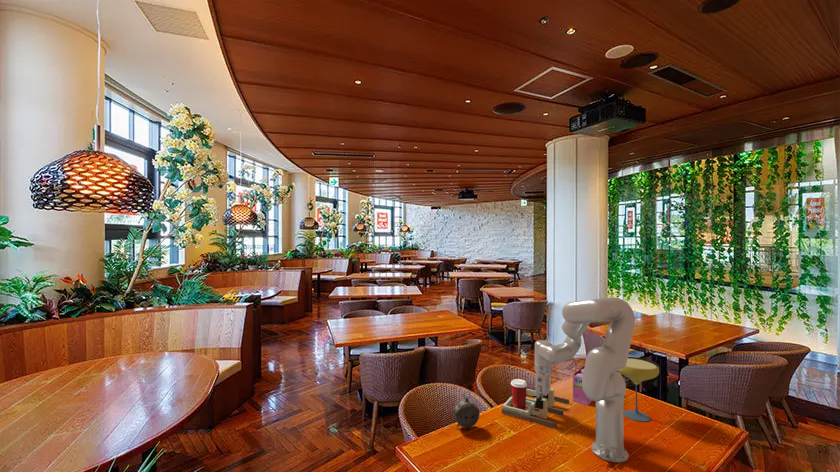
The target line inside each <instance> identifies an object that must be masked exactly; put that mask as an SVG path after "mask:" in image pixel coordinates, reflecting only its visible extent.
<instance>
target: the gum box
mask: <svg viewBox="0 0 840 472" xmlns="http://www.w3.org/2000/svg"><path fill="white" fill-rule="evenodd" d="M584 367H585V364H584V365H582V366H581V367H580V368H579V370H577V371H576V372H574V373H573V374H572V401H573V402H575V403H579V404H581V405H586V406H590V404H591V403H592V402H594V401H593V400H590V399H589V398H588V397H587V396H586V395H585V393H584V391H583V388H582V378H583V373H584Z"/></svg>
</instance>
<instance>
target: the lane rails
mask: <svg viewBox="0 0 840 472" xmlns="http://www.w3.org/2000/svg"><path fill="white" fill-rule="evenodd" d="M554 400H555V401H554V402H557V401H558V403H562V404H567V405H570V399H568V398H565V397H559V396H555V395H554ZM535 408H536V404H535ZM537 410H539V408H538V409H537ZM547 411H548V412H547V413H551V414H556V415H559V416H564V414H565V413H564V410H563V409H559V408H556V407H555V408H554V407H551V406H547ZM502 413H503V414H502ZM501 414H502V415H505V414H507V415H506V416H508V415H511V416H510V417H512V416H514V417H513V418H516V417H518V418H517V419H519V418H521V419H520V420H523V419H525V420H524V421H527V420H529V421H528V422H530V421H532V422H531V423H534V422H535V423H534V424H537V423H539V424H538V425H541V424H542V425H541V426H546V427H549V428H553V429H558V423H557V422H554V421H550V420H546V419H544V418H541V417H537V416H533V415H532V416H531V415H530V416H528V415H525V414H521V413H517V412H513V411H510V410H506V409H503V408H501Z"/></svg>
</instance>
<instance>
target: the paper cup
mask: <svg viewBox="0 0 840 472" xmlns="http://www.w3.org/2000/svg"><path fill="white" fill-rule="evenodd" d="M510 386H511V397H512V400H513V404H512V407H514V408H517V409H521V410H525V411H526V407H525V406H526V398H527V395H526V390H527V389H528V388H527V387H528V384H527V381H526V380H524V379H522V378H521V379H520V378H516V379H515V378H514V379H512V380H511V382H510Z"/></svg>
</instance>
